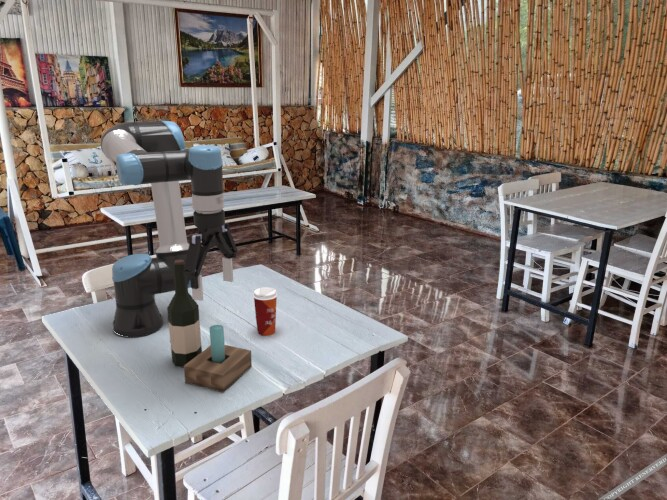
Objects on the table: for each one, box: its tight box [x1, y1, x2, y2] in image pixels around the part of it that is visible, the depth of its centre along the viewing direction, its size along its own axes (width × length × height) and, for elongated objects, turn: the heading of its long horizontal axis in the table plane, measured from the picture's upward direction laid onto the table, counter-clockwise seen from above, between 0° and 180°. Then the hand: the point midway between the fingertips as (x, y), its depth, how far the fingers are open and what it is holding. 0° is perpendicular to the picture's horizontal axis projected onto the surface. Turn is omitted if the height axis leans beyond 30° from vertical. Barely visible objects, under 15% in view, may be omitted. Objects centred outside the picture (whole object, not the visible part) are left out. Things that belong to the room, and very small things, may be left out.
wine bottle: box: [166, 260, 203, 368], centre depth 146 cm, size 8×8×30 cm
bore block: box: [183, 344, 253, 394], centre depth 142 cm, size 12×14×5 cm
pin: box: [209, 324, 226, 364], centre depth 141 cm, size 4×4×13 cm
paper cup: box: [252, 286, 279, 337], centre depth 165 cm, size 8×8×14 cm
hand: (213, 289), depth 136 cm, fingers open, 13 cm apart
